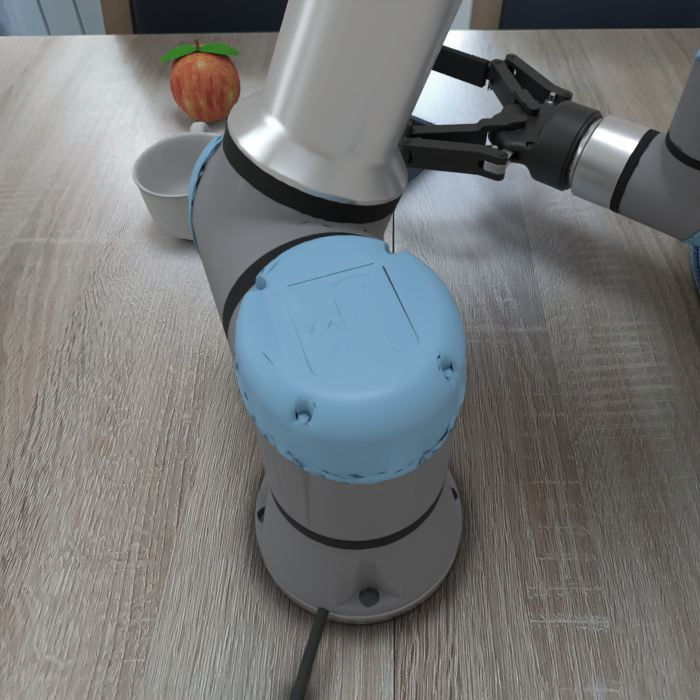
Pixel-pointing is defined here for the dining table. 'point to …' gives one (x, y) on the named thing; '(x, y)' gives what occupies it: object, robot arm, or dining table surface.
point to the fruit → (204, 80)
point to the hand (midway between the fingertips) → (397, 82)
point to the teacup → (171, 177)
